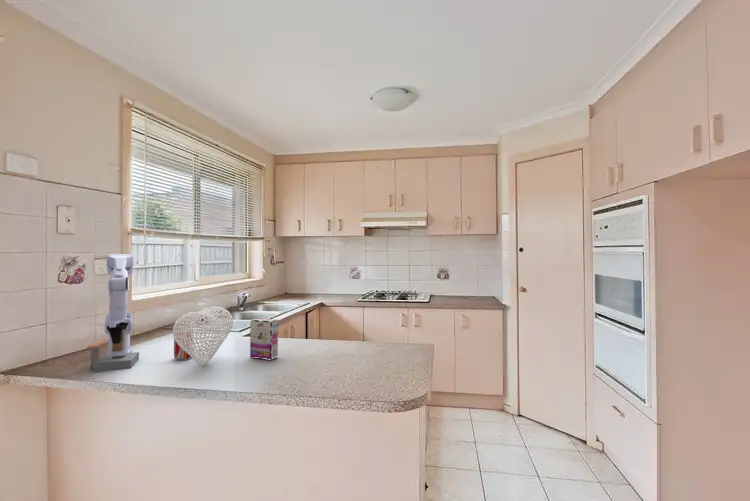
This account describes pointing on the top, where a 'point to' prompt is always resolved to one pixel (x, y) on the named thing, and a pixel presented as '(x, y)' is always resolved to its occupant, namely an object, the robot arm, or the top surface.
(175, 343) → the soda can
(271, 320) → the candy bar box
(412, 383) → the top surface
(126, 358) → the socket block
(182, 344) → the heart
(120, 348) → the peg
